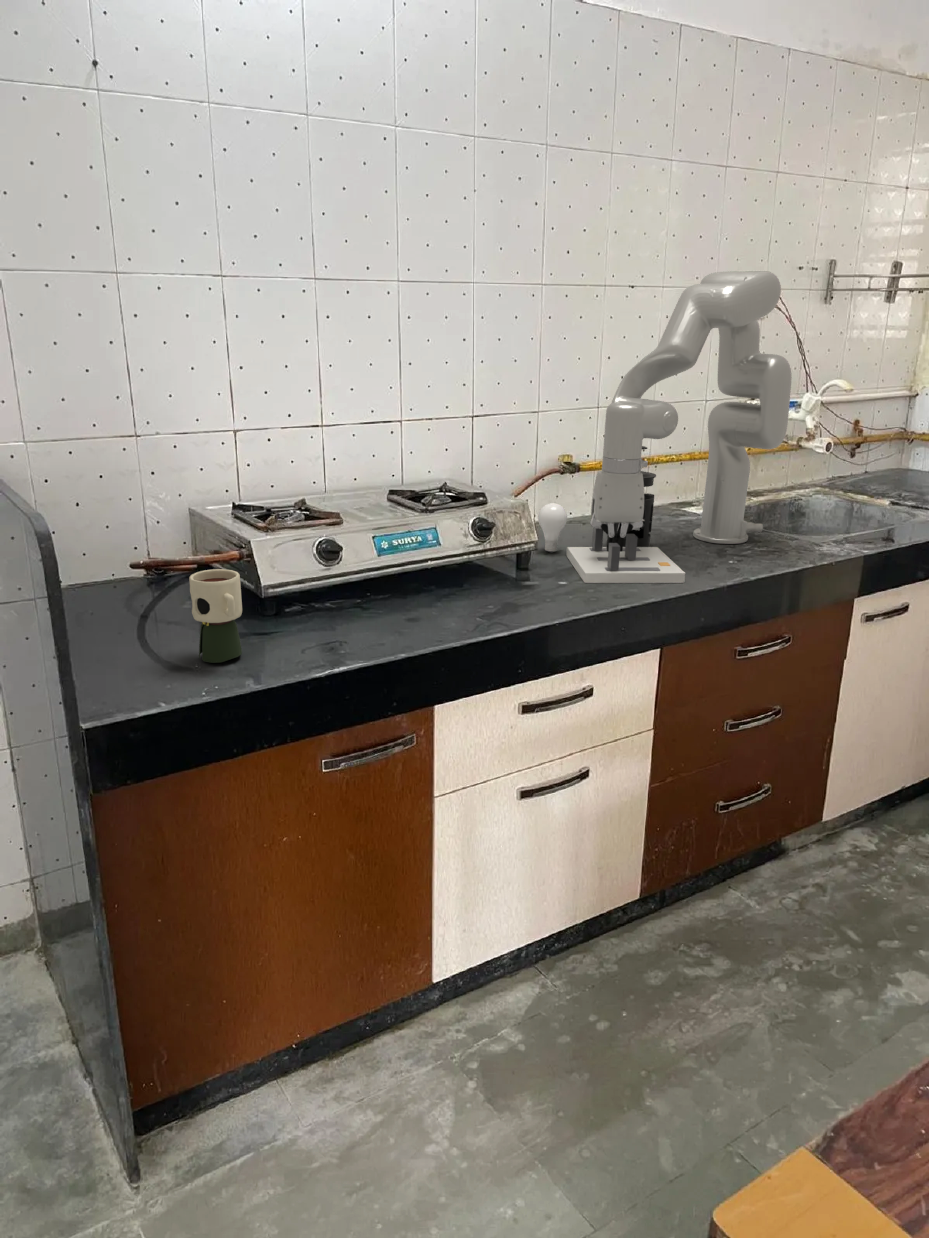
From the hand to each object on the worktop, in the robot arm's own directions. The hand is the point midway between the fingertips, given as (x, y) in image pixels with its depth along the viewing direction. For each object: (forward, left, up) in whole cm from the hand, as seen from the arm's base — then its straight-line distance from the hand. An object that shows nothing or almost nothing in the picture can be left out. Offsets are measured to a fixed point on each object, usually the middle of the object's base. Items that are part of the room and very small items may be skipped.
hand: (614, 554), depth 180 cm
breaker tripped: (-3, 0, -1) cm, 3 cm away
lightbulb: (+11, -13, -3) cm, 17 cm away
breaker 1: (+2, -7, -1) cm, 8 cm away
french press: (-8, -17, -3) cm, 19 cm away
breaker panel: (-2, 0, -3) cm, 4 cm away
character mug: (+71, +48, -3) cm, 86 cm away
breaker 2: (+2, +8, -1) cm, 8 cm away
